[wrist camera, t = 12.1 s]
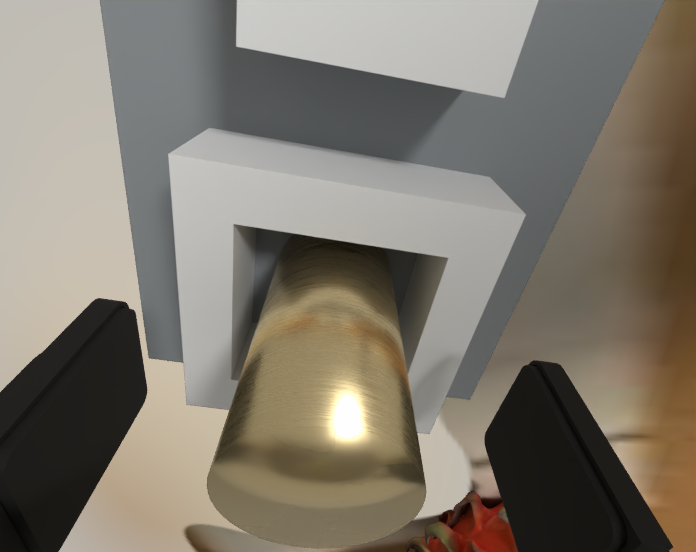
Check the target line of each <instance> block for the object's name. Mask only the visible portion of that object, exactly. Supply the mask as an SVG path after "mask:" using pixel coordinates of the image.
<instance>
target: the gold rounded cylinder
mask: <svg viewBox="0 0 696 552" xmlns="http://www.w3.org/2000/svg"><path fill="white" fill-rule="evenodd" d="M207 489H208V494H209V496H210V499H211V501H212V503H213V504H214V506H215V508H216V509H217V510H218V511H219V512H220V513H221V514H222V516H223V517H225V518H226V519H227V520H228V521H229V522H231V523H232V524H234V525H235V526H237V527H238V528H240V529H242V530H244V531H246V532H248V533H250V534H252V535H255V536H257V537H259V538H262V539H265V540H268V541H272V542H276V543H280V544H284V545H290V546H296V547H304V548H341V547H349V546H356V545H360V544H365V543H369V542H372V541H376V540H379V539H381V538H384V537H387V536H389V535H391V534H393V533H395V532H397V531H398V530H400V529H401V528H403V527H405V526H406V525H407V524H408V523H410V522H411V521H412V520H413V519H414V518H415V517H416V515H417V514H418V513H419V511H420V509H421V508H422V506H423V504H424V501H425V497H426V485H425V479H424V472H423V466H422V460H421V454H420V447H419V442H418V435H417V429H416V423H415V417H414V411H413V405H412V399H411V392H410V386H409V380H408V374H407V368H406V362H405V356H404V350H403V343H402V337H401V331H400V325H399V319H398V313H397V307H396V301H395V294H394V288H393V282H392V276H391V270H390V264H389V259H388V256H387V253H386V251H385V249H384V248H383V247H376V246H370V245H364V244H357V243H351V242H345V241H338V240H332V239H326V238H319V237H313V236H307V235H300V234H293V235H292V236H291V237H290V238H289V239H288V241H287V242H286V243H285V245H284V247H283V249H282V251H281V254H280V257H279V260H278V263H277V266H276V269H275V272H274V275H273V278H272V281H271V284H270V287H269V290H268V293H267V296H266V299H265V303H264V306H263V309H262V312H261V315H260V318H259V321H258V324H257V327H256V330H255V333H254V336H253V339H252V342H251V345H250V349H249V352H248V355H247V358H246V361H245V364H244V367H243V370H242V373H241V376H240V379H239V382H238V385H237V388H236V391H235V394H234V398H233V401H232V404H231V407H230V410H229V413H228V416H227V419H226V422H225V425H224V428H223V431H222V435H221V437H220V441H219V444H218V447H217V450H216V453H215V456H214V459H213V462H212V465H211V468H210V472H209V474H208V478H207Z"/></svg>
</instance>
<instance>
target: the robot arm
mask: <svg viewBox="0 0 696 552" xmlns="http://www.w3.org/2000/svg"><path fill="white" fill-rule="evenodd" d="M146 395H147V384H146V378H145V371H144V365H143V358H142V352H141V346H140V338H139V332H138V325H137V319H136V313H135V311H134V310H132V309H129V307H128V305H127V303H126V302H122V301H115V300H108V299H101V298H98V299H95V300H94V301H93V302H92V303H91V304H90V305H89V306H88V307H87V308H86V309H85V310H84V311H83V312H82V313H81V314H80V315H79V316H78V317H77V318H76V319H75V320H74V321H73V322H72V323H71V324H70V325H69V326H68V327H67V328H66V329H65V330H64V331H63V332H62V333H61V334H60V335H59V336H58V337H57V338H56V339H55V340H54V341H53V342H52V343H51V344H50V345H49V346H48V347H47V348H46V349H45V350H44V351H43V352H42V353H41V354H39V355H38V356H37V357H35V358H34V359H33V360H32V361H31V362H30V363H29V364H28V365H27V366H26V367H25V368H24V369H23V370H22V371H21V372H20V373H19V374H18V375H17V376H16V377H15V378H14V379H13V380H12V381H11V382H10V383H9V384H8V385H7V386H6V387H5V388H4V389H3V390H2V391H1V392H0V552H58V551H59V550H60V548H61V547H62V545H63V543H64V541H65V540H66V538H67V536H68V535H69V533H70V531H71V529H72V528H73V526H74V524H75V522H76V521H77V519H78V517H79V515H80V514H81V512H82V510H83V509H84V506H85V505H86V503H87V502H88V500H89V498H90V496H91V494H92V493H93V491H94V489H95V488H96V486H97V484H98V482H99V481H100V479H101V477H102V475H103V474H104V472H105V470H106V469H107V467H108V465H109V463H110V461H111V460H112V458H113V456H114V455H115V453H116V451H117V449H118V448H119V446H120V444H121V442H122V440H123V439H124V437H125V435H126V434H127V432H128V430H129V428H130V427H131V425H132V423H133V422H134V419H135V418H136V416H137V414H138V413H139V411H140V409H141V408H142V406H143V404H144V402H145V399H146ZM485 447H486V450H487V454H488V457H489V460H490V463H491V466H492V470H493V473H494V476H495V479H496V482H497V486H498V489H499V492H500V495H501V499H502V502H503V505H504V508H505V511H506V515H507V518H508V521H509V524H510V527H511V531H512V534H513V537H514V540H515V543H516V547H517V550H518V552H669V550H670V549H671V548H673V546H672V544H671V543H670V541H669V539H668V538H667V536H666V534H665V533H664V531H663V530H662V528H661V526H660V525H659V523H658V521H657V520H656V518H655V517H654V515H653V513H652V512H651V510H650V509H649V507H648V505H647V504H646V502H645V500H644V499H643V497H642V496H641V494H640V492H639V491H638V489H637V487H636V486H635V484H634V483H633V481H632V479H631V478H630V476H629V474H628V473H627V471H626V470H625V468H624V466H623V465H622V463H621V461H620V460H619V458H618V457H617V455H616V453H615V452H614V450H613V449H612V447H611V445H610V444H609V442H608V440H607V439H606V437H605V436H604V434H603V432H602V431H601V429H600V427H599V426H598V424H597V423H596V421H595V419H594V418H593V416H592V414H591V413H590V411H589V410H588V408H587V406H586V405H585V403H584V402H583V400H582V398H581V397H580V395H579V393H578V392H577V390H576V389H575V387H574V385H573V384H572V382H571V380H570V379H569V377H568V376H567V374H566V372H565V371H564V369H563V368H562V367H561V365H559V364H557V363H551V362H544V361H532V362H530V364H529V365H525V366H523V368H522V369H521V371H520V373H519V374H518V376H517V378H516V380H515V381H514V383H513V385H512V387H511V389H510V390H509V392H508V394H507V396H506V397H505V399H504V401H503V403H502V404H501V406H500V408H499V410H498V412H497V413H496V415H495V417H494V419H493V420H492V422H491V424H490V426H489V427H488V429H487V431H486V433H485Z"/></svg>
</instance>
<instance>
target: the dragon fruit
mask: <svg viewBox="0 0 696 552" xmlns="http://www.w3.org/2000/svg"><path fill="white" fill-rule="evenodd" d="M468 502H470V503H471V505H470V507H469V510H468V511H467V513H466V514H465V515H464V516H462V515H461V514H462V511H463V508H464V506H465V505H466V504H467V503H468ZM431 536H434V539H431V538H430V537H431ZM409 547H410V548H413V549H415V551H416V552H518V550H517V547H516V543H515V540H514V537H513V534H512V531H511V527H510V524H509V521H508V518H507V515H506V511H505V508H504V505H503V502H502V503H500V504H498V505H497V506H496V507H494V508H490V509H487V508H486V507H484V506H483V505H482V503H481V499H480V496H479V495H478V494H477V493H476V492H475V491H471V492H469V493H468V494H467V495H466V497H465V498H464V499H463V500H462V501H461V502H460V503H458V504H457V505H456V506H455V507H454V511H452V510H448V511H445V512H443V514H441V515H440V516H439V522H436V523H433V524H430V525H427V526H426V527H425V538H413V539H411V540H410V541H409V542H408V544H407V546H406V551H407V552H408V550H409Z"/></svg>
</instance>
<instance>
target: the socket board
mask: <svg viewBox="0 0 696 552" xmlns="http://www.w3.org/2000/svg"><path fill="white" fill-rule="evenodd" d="M664 1H665V0H100V5H101V12H102V19H103V26H104V33H105V41H106V49H107V56H108V62H109V71H110V78H111V85H112V92H113V99H114V107H115V114H116V122H117V129H118V136H119V144H120V150H121V158H122V166H123V173H124V180H125V187H126V195H127V202H128V210H129V217H130V224H131V232H132V239H133V246H134V254H135V261H136V268H137V276H138V283H139V290H140V298H141V305H142V312H143V320H144V327H145V334H146V341H147V348H148V355H149V358H151V359H159V360H167V361H174V362H182V363H184V375H185V390H186V403H187V405H194V406H202V407H210V408H218V409H227V410H230V407H231V404H232V401H233V398H234V394H235V391H236V388H237V385H238V382H239V379H240V376H241V373H242V370H243V367H244V364H245V361H246V358H247V355H248V352H249V349H250V345H251V342H252V339H253V336H254V333H255V330H256V327H257V324H258V321H259V318H260V315H261V312H262V309H263V306H264V303H265V299H266V296H267V293H268V290H269V287H270V284H271V281H272V278H273V275H274V272H275V269H276V266H277V263H278V260H279V257H280V254H281V251H282V249H283V247H284V245H285V243H286V242H287V241H288V239H289V238H290V237H291V236H292V235H293V234H300V235H307V236H313V237H319V238H326V239H332V240H338V241H345V242H351V243H357V244H364V245H370V246H376V247H383V248H384V249H385V251H386V253H387V256H388V259H389V264H390V270H391V276H392V282H393V288H394V294H395V301H396V307H397V313H398V319H399V325H400V331H401V337H402V343H403V350H404V356H405V362H406V368H407V374H408V380H409V386H410V392H411V399H412V405H413V411H414V417H415V423H416V429H417V433H425V434H430V432H431V430H432V427H433V425H434V423H435V420H436V418H437V416H438V414H439V411H440V409H441V407H442V405H443V402H444V400H445V398H446V397H453V398H461V399H468V400H470V398H471V396H472V394H473V392H474V389H475V387H476V385H477V383H478V381H479V379H480V377H481V375H482V373H483V371H484V369H485V367H486V365H487V363H488V361H489V359H490V357H491V355H492V353H493V351H494V349H495V347H496V344H497V342H498V340H499V338H500V336H501V334H502V332H503V330H504V328H505V326H506V324H507V322H508V320H509V318H510V316H511V314H512V312H513V310H514V308H515V306H516V304H517V302H518V300H519V297H520V295H521V293H522V291H523V289H524V287H525V285H526V283H527V281H528V279H529V277H530V275H531V273H532V271H533V269H534V267H535V265H536V263H537V261H538V259H539V257H540V255H541V252H542V250H543V248H544V246H545V244H546V242H547V240H548V238H549V236H550V234H551V232H552V230H553V228H554V226H555V224H556V222H557V220H558V218H559V216H560V214H561V212H562V210H563V207H564V205H565V203H566V201H567V199H568V197H569V195H570V193H571V191H572V189H573V187H574V185H575V183H576V181H577V179H578V177H579V175H580V173H581V171H582V169H583V167H584V165H585V162H586V160H587V158H588V156H589V154H590V152H591V150H592V148H593V146H594V144H595V142H596V140H597V138H598V136H599V134H600V132H601V130H602V128H603V126H604V124H605V122H606V120H607V117H608V115H609V113H610V111H611V109H612V107H613V105H614V103H615V101H616V99H617V97H618V95H619V93H620V91H621V89H622V87H623V85H624V83H625V81H626V79H627V77H628V75H629V73H630V70H631V68H632V66H633V64H634V62H635V60H636V58H637V56H638V54H639V52H640V50H641V48H642V46H643V44H644V42H645V40H646V38H647V36H648V34H649V32H650V30H651V28H652V25H653V23H654V21H655V19H656V17H657V15H658V13H659V11H660V9H661V7H662V5H663V3H664Z"/></svg>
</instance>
